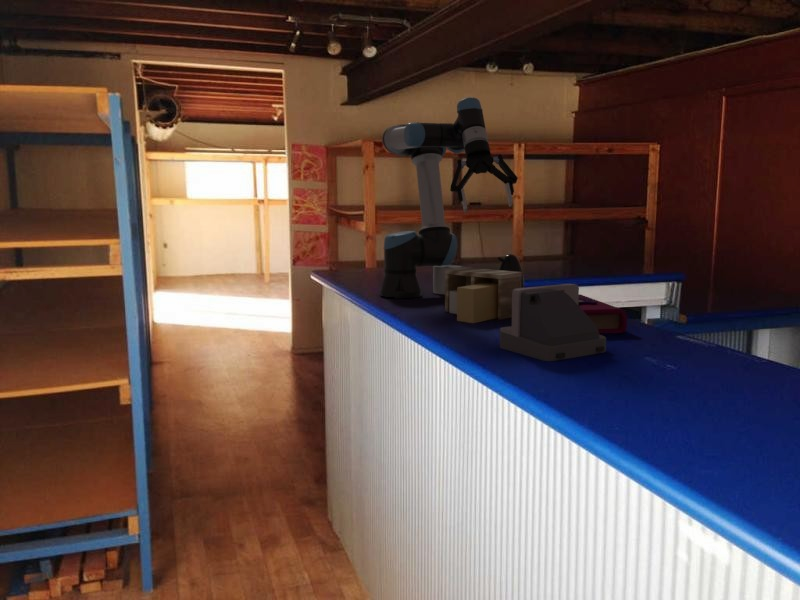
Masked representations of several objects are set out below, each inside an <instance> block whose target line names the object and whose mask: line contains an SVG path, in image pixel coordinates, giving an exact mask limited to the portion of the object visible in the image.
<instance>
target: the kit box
mask: <svg viewBox="0 0 800 600" xmlns="http://www.w3.org/2000/svg"><path fill="white" fill-rule="evenodd" d="M494 319H498V282H488V283H481V284H475V285H469V286H463V287H457V314H456V321H457V322H461V323H462V322H463V323H469V324H475V323H481V322H484V321H485V322H486V321H490V320H494Z"/></svg>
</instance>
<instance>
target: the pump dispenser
mask: <svg viewBox="0 0 800 600" xmlns="http://www.w3.org/2000/svg"><path fill="white" fill-rule="evenodd" d="M497 260H498V261H499V262H500V263H499V267H498V269H497V270H503V271H515V272H522V279H521V288H525V279H524V272H523V268H522V265H521V263H520V260H519V258H518V257H517V255H515V254H512V253H509V254H507V255H504V257H500V256H499V257H498V256H497Z"/></svg>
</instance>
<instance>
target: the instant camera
mask: <svg viewBox="0 0 800 600" xmlns="http://www.w3.org/2000/svg"><path fill="white" fill-rule="evenodd" d="M579 290H580V287H579V284H575V283H561V284H552V285H551V284H549V285H541V286H540V285H539V286H530V287H523V288H517V289H514V290H513V292H512V317H511V326H510V325H509V326H504V327H500V328H499V348H500V349H503V350H506V351H508V352H509V351H510V352H513V353H517V354H520V355H523V356H526V357H530V358H533V359H537V360H540V361H545V362H556V361H561V360H567V359H574V358H579V357H586V356H592V355H597V354H603V353H605V352H607V337H606V336H604V335H603V334H599V332H598V328H597V326H596V325H595V323H594V322H593V321H592V320H591V319H590V318H589V317H588V315H587V314H586V313H585V312H584V311H583V310H582V309H581V308H580V307H579V306H578V299H579V294H580V292H579Z"/></svg>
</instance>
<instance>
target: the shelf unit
mask: <svg viewBox="0 0 800 600" xmlns="http://www.w3.org/2000/svg"><path fill="white" fill-rule="evenodd" d="M467 267H468V266H465V267H464V268H457V269H449V270H445V294H444V312H447V313H449V299H450V291H453V290H457V287H463V286H469V285H475V284H481V283H488V282H498V318H497V320H506V319H509V318H512V292H513V290H514V289H517V288H521V279H522V272H523V271H522V272H515V271H503V270H498V269H490V268H479V267H478V268H477V267H469V268H467Z"/></svg>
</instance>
